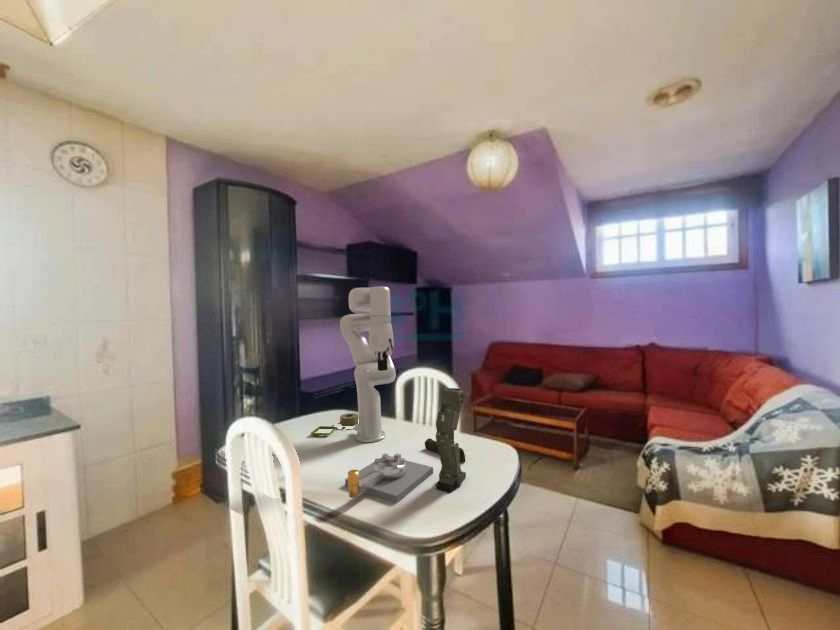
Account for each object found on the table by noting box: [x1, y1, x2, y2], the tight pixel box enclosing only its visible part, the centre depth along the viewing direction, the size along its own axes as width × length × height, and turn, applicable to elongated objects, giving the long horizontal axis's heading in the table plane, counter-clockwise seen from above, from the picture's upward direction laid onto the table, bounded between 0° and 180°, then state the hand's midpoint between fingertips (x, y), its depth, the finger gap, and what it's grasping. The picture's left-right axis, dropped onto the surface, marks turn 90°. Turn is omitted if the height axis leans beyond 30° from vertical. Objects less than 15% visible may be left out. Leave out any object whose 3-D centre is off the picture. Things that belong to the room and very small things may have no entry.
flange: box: [339, 412, 359, 426], centre depth 167 cm, size 5×15×15 cm
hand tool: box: [424, 437, 466, 463], centre depth 128 cm, size 19×4×5 cm, turn 39°
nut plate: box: [344, 455, 434, 504], centre depth 112 cm, size 20×20×2 cm
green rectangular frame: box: [310, 425, 337, 437], centre depth 156 cm, size 9×9×2 cm
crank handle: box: [347, 453, 406, 499], centre depth 106 cm, size 22×10×7 cm, turn 146°
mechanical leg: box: [435, 387, 467, 494], centre depth 109 cm, size 14×7×30 cm, turn 148°
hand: (382, 370), depth 128 cm, fingers closed
